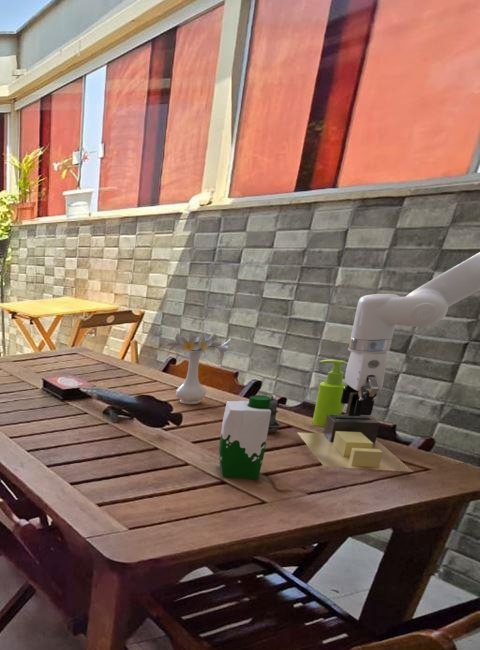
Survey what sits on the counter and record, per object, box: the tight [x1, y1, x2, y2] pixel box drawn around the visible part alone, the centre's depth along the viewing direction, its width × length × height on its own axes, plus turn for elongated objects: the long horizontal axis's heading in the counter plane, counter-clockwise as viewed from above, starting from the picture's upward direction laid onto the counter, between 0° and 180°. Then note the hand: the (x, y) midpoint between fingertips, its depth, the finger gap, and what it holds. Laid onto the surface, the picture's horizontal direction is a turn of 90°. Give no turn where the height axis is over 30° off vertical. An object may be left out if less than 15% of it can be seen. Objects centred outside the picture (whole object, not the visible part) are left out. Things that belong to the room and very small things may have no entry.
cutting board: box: [297, 432, 414, 473], centre depth 127 cm, size 16×24×1 cm, turn 154°
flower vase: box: [167, 331, 232, 405], centre depth 173 cm, size 13×18×25 cm
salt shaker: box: [268, 395, 281, 434], centre depth 141 cm, size 6×6×12 cm
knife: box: [337, 392, 369, 420], centre depth 130 cm, size 6×2×13 cm, turn 64°
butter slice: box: [349, 448, 383, 467], centre depth 118 cm, size 5×2×4 cm, turn 64°
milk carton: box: [218, 394, 271, 481], centre depth 121 cm, size 9×9×20 cm
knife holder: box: [322, 414, 381, 444], centre depth 131 cm, size 9×6×6 cm, turn 64°
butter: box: [333, 431, 373, 457], centre depth 125 cm, size 5×8×4 cm, turn 154°
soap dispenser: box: [311, 358, 347, 428], centre depth 141 cm, size 6×7×20 cm
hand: (355, 409), depth 129 cm, fingers open, 9 cm apart
